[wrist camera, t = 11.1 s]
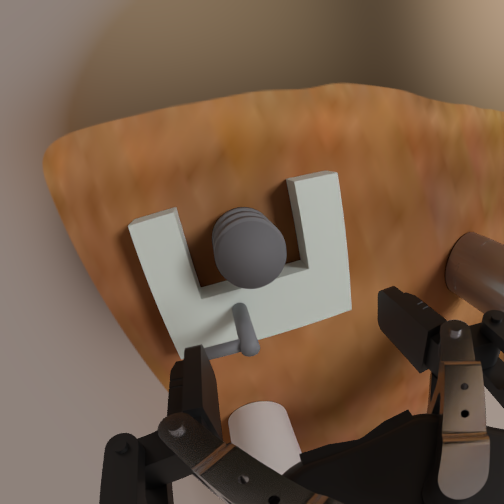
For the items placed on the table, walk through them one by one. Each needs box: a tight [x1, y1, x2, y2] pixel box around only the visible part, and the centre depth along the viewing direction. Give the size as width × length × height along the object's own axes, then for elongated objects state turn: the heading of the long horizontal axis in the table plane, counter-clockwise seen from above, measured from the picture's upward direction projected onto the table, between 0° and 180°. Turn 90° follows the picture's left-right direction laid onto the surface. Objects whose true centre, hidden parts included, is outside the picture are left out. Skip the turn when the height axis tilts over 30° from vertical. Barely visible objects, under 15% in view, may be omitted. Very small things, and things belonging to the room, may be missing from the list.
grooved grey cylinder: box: [212, 207, 287, 289], centre depth 24 cm, size 5×5×6 cm
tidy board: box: [128, 171, 352, 360], centre depth 24 cm, size 18×14×8 cm
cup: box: [228, 401, 302, 475], centre depth 28 cm, size 8×8×16 cm
